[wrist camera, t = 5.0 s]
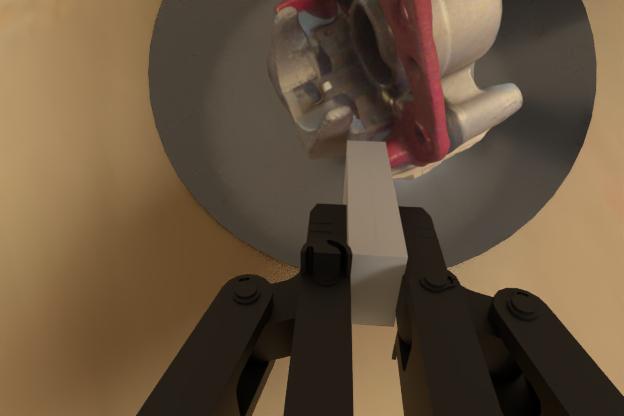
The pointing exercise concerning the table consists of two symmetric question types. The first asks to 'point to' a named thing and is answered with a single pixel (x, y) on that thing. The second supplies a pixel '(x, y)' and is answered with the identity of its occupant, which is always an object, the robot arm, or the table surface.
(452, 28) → the brake caliper
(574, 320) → the table surface
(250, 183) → the disc
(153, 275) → the table surface
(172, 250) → the table surface
